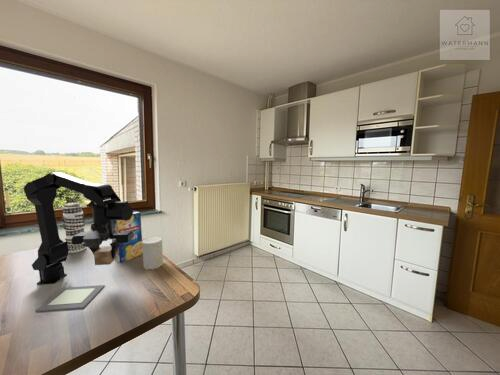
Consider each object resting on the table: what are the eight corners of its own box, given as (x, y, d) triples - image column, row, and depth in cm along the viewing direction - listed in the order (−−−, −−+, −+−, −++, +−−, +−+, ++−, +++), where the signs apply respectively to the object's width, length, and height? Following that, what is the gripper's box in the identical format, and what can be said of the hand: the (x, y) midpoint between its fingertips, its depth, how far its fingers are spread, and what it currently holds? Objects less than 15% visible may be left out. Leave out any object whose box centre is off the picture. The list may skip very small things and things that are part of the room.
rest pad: (35, 311, 66) (35, 309, 66) (64, 288, 77) (63, 287, 77) (83, 308, 67) (83, 306, 67) (104, 286, 79) (104, 284, 79)
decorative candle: (87, 244, 118) (83, 201, 115) (88, 249, 111) (83, 203, 108) (66, 248, 112) (61, 203, 109) (65, 254, 105) (59, 206, 102)
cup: (155, 270, 91) (154, 244, 89) (139, 268, 92) (137, 242, 91) (166, 261, 99) (165, 237, 97) (151, 260, 100) (150, 236, 99)
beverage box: (143, 254, 106) (140, 212, 103) (119, 263, 97) (116, 217, 94) (136, 251, 110) (133, 210, 107) (113, 259, 101) (109, 214, 98)
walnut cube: (94, 265, 76) (93, 252, 75) (102, 258, 81) (101, 246, 80) (109, 264, 77) (108, 251, 76) (116, 258, 82) (115, 245, 81)
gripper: (57, 226, 67) (62, 271, 69) (119, 225, 70) (122, 268, 72) (80, 217, 78) (83, 256, 80) (133, 216, 81) (135, 254, 83)
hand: (105, 258), depth 79 cm, fingers closed on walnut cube, 5 cm apart
